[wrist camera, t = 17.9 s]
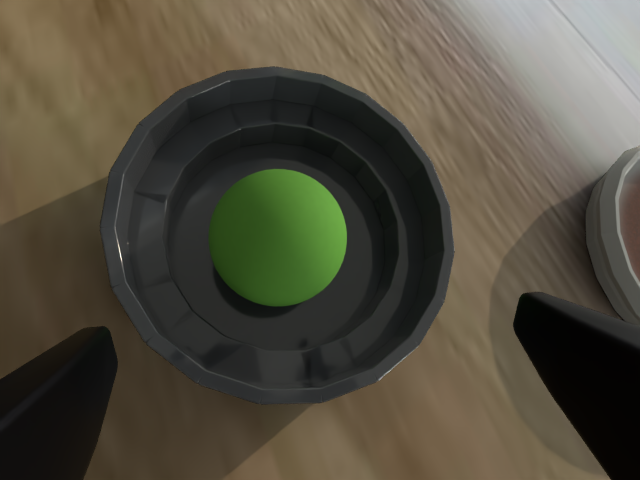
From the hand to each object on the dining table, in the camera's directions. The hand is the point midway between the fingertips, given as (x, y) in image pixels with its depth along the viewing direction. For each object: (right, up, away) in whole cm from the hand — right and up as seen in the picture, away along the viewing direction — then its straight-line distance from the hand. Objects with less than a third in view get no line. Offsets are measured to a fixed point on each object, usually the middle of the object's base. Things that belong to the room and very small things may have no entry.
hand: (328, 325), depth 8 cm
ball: (-2, +2, +10) cm, 10 cm away
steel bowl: (-2, +2, +13) cm, 14 cm away
